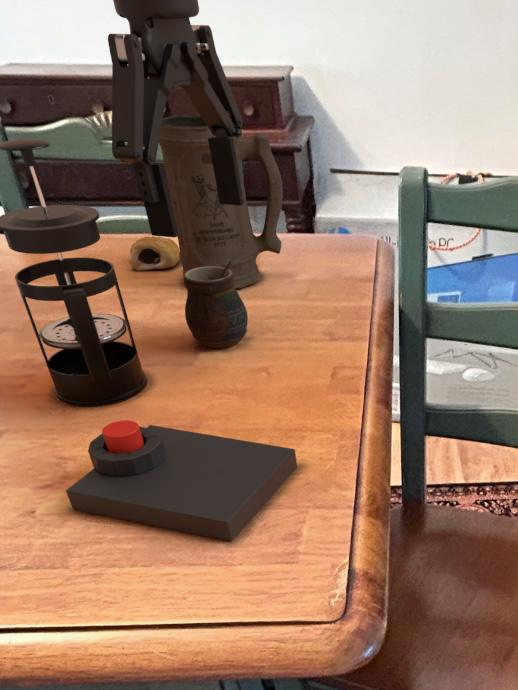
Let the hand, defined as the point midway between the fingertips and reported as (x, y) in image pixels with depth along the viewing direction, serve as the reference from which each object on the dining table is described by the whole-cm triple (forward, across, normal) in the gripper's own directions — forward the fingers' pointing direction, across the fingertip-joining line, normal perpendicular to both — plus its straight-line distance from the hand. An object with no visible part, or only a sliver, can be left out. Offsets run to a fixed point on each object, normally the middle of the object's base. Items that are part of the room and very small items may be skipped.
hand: (200, 219), depth 80 cm
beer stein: (+14, +22, +10) cm, 28 cm away
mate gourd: (+14, 0, 0) cm, 14 cm away
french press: (+14, -16, +6) cm, 22 cm away
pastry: (+14, +24, +25) cm, 37 cm away
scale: (+14, -30, -14) cm, 36 cm away
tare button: (+10, -30, -8) cm, 33 cm away
